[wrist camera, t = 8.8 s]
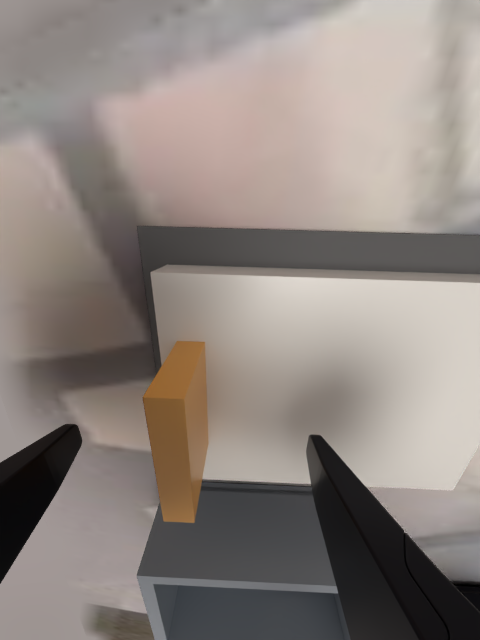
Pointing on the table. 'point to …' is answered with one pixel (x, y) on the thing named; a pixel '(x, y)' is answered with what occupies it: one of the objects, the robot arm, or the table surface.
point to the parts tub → (242, 569)
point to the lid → (311, 377)
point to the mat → (301, 253)
